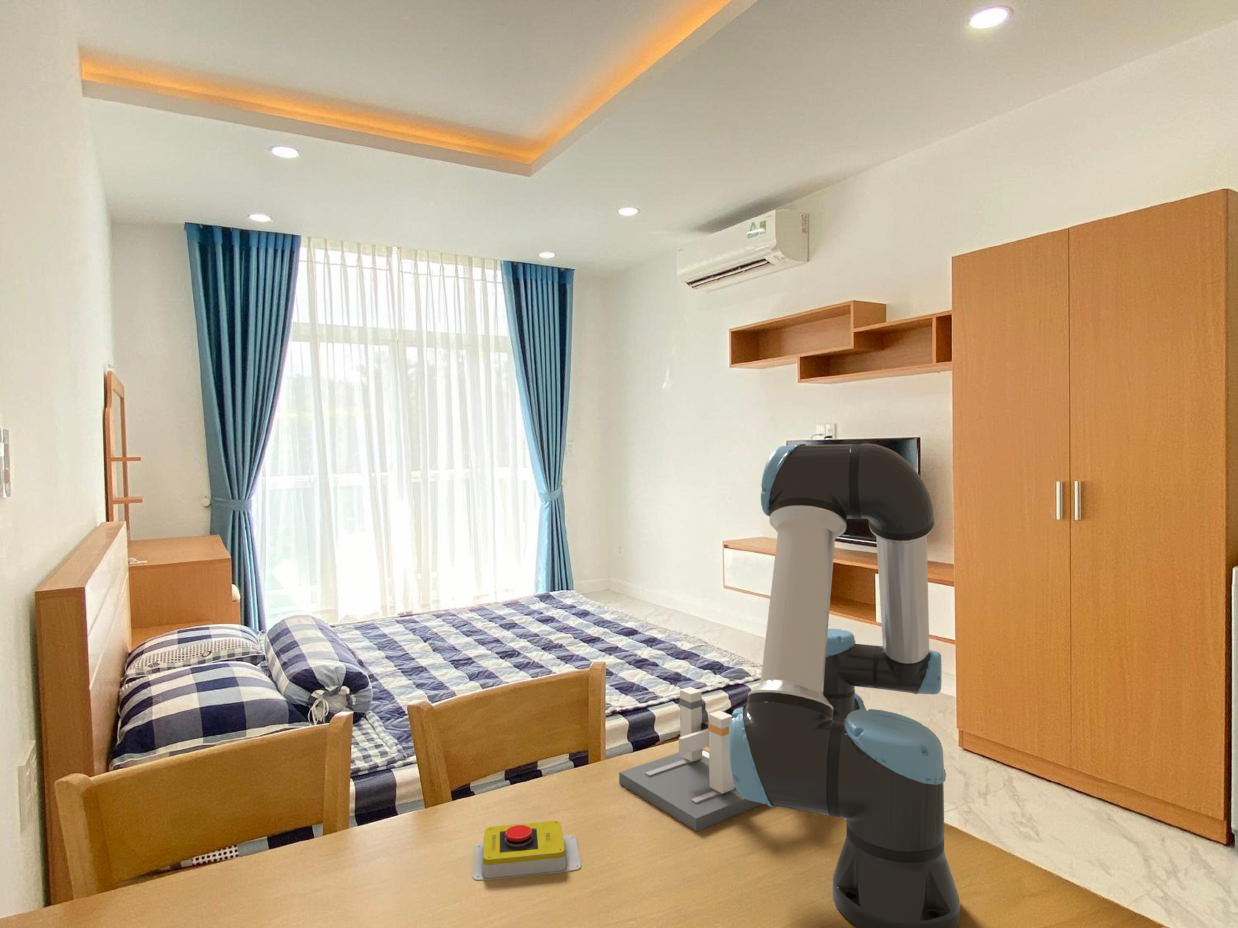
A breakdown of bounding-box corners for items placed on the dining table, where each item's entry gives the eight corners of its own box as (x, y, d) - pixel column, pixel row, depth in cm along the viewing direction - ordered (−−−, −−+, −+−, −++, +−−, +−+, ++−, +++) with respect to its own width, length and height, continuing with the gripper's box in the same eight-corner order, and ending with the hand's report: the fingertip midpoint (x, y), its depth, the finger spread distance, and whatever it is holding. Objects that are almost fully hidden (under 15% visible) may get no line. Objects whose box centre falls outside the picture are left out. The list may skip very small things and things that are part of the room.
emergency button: (473, 819, 111) (575, 809, 114) (474, 848, 111) (575, 838, 114) (471, 853, 102) (581, 842, 104) (471, 885, 102) (582, 873, 105)
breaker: (691, 752, 137) (690, 686, 136) (702, 757, 134) (701, 691, 134) (680, 755, 135) (679, 689, 135) (691, 761, 133) (690, 694, 132)
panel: (697, 756, 141) (697, 744, 141) (778, 796, 125) (778, 783, 125) (619, 783, 130) (619, 770, 130) (696, 831, 114) (696, 816, 114)
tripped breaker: (720, 782, 125) (719, 710, 124) (734, 789, 122) (733, 715, 122) (709, 786, 123) (708, 713, 123) (722, 793, 121) (721, 719, 120)
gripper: (856, 774, 123) (765, 813, 111) (747, 728, 143) (659, 756, 131) (856, 729, 123) (764, 763, 110) (746, 689, 143) (658, 714, 131)
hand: (707, 759), depth 121 cm, fingers open, 13 cm apart
